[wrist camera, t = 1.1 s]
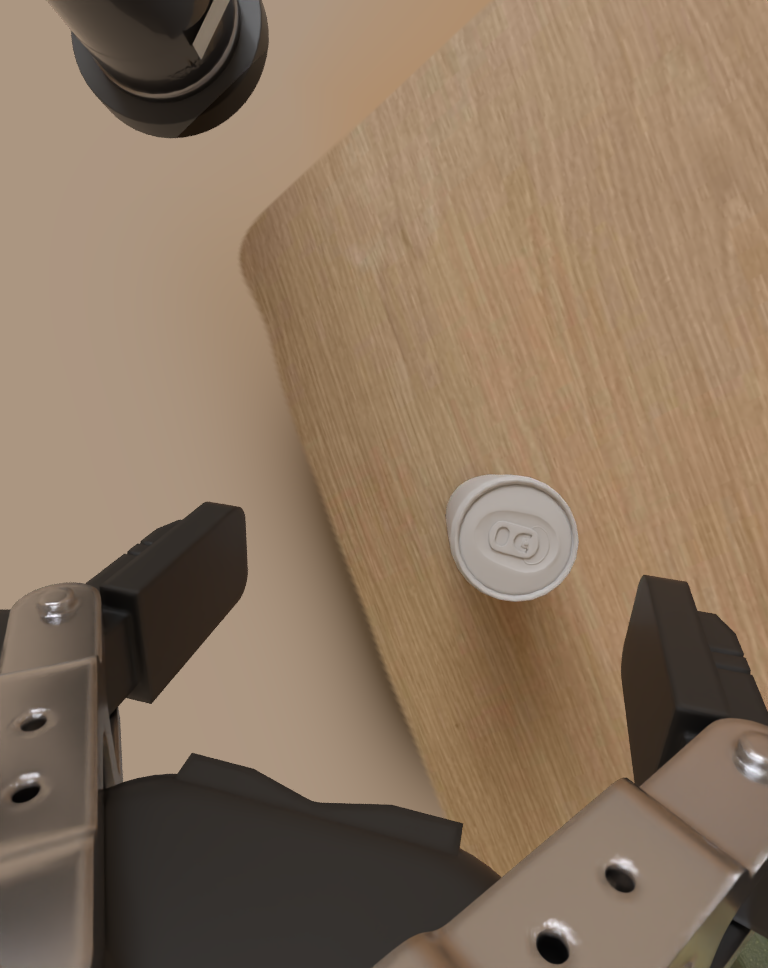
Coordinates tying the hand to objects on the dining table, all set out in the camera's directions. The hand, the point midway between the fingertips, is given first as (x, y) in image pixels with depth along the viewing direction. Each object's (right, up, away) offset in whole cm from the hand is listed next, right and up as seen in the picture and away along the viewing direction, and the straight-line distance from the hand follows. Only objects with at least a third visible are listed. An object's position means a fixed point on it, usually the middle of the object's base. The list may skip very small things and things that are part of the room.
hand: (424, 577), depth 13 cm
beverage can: (+5, 0, +23) cm, 23 cm away
